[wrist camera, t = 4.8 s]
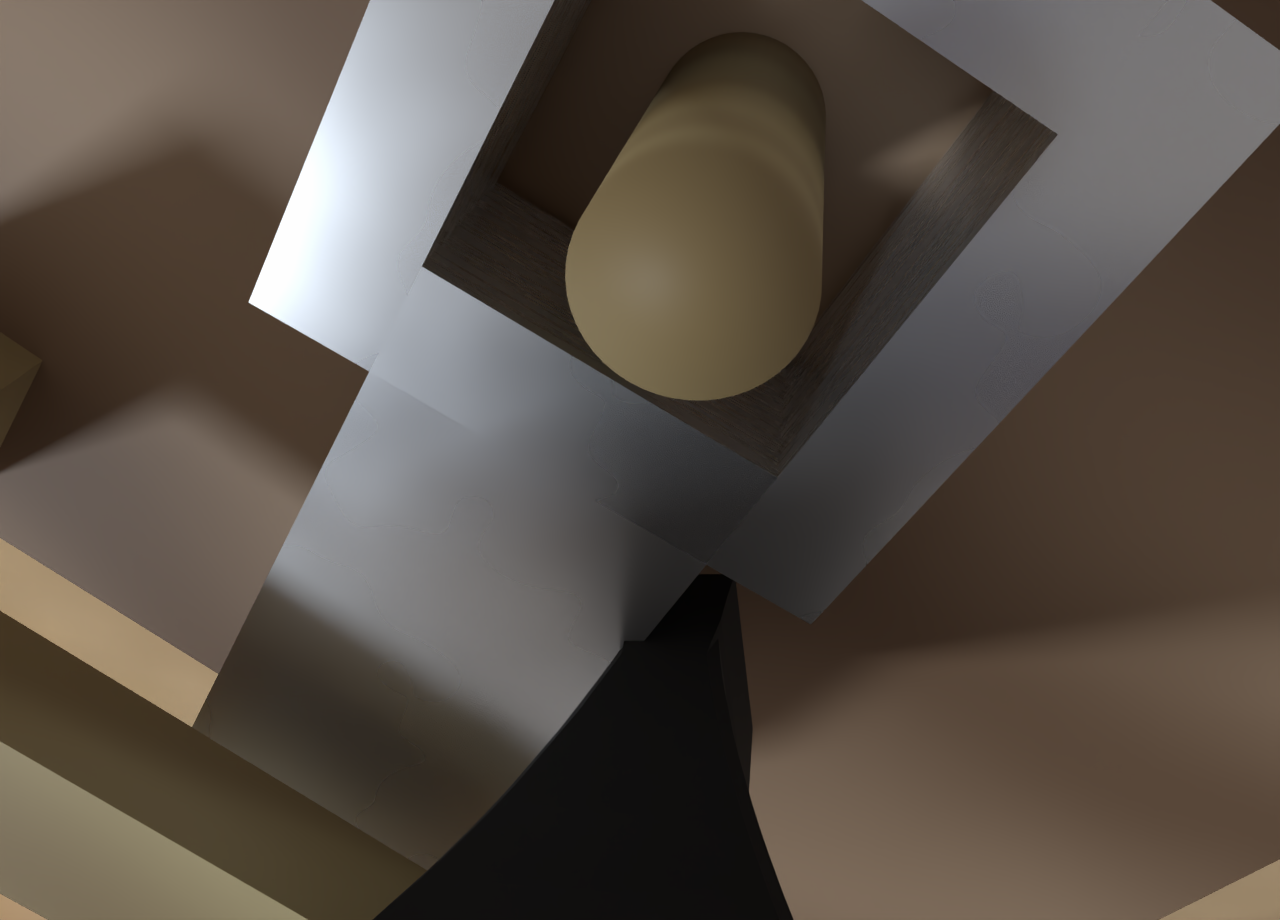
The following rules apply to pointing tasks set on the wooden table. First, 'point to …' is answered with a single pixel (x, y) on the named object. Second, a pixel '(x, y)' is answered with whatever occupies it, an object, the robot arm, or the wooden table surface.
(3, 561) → the wooden table surface
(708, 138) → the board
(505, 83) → the link
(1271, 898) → the wooden table surface
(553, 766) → the robot arm
